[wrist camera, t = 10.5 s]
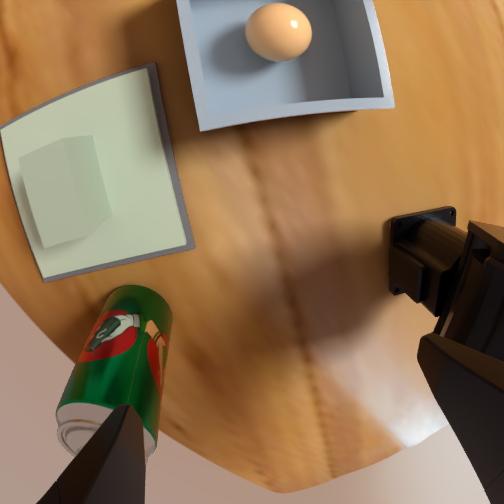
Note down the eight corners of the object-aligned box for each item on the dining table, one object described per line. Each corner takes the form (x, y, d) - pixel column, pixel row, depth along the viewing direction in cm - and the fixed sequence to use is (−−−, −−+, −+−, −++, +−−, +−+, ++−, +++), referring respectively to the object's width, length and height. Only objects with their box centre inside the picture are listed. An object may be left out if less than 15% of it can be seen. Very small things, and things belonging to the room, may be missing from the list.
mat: (156, 63, 15) (154, 61, 15) (195, 246, 20) (195, 248, 20) (2, 126, 15) (-1, 126, 14) (46, 280, 19) (44, 282, 19)
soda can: (96, 315, 21) (40, 443, 10) (127, 267, 20) (64, 401, 9) (151, 349, 23) (129, 484, 12) (186, 307, 22) (176, 454, 11)
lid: (148, 69, 15) (129, 52, 11) (186, 241, 19) (180, 273, 15) (5, 129, 15) (-37, 134, 10) (47, 274, 19) (17, 306, 15)
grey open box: (329, -21, 14) (355, -49, 10) (358, 110, 18) (395, 108, 14) (177, -10, 13) (169, -43, 9) (203, 131, 17) (200, 131, 13)
